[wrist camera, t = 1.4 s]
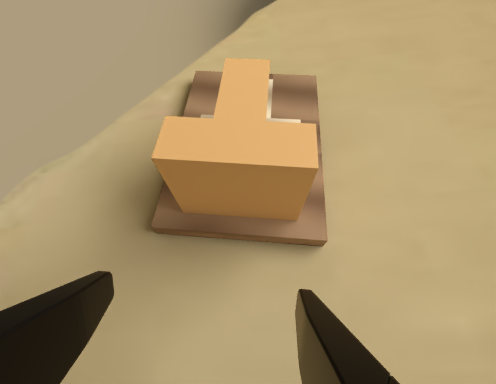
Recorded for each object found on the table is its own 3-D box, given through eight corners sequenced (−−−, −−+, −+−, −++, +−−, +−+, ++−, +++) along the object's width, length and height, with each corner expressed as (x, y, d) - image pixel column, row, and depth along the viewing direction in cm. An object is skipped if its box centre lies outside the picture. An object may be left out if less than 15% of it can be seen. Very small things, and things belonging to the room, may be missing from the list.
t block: (297, 220, 22) (318, 168, 15) (183, 212, 22) (151, 158, 15) (296, 132, 26) (312, 61, 19) (202, 127, 27) (185, 56, 20)
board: (323, 246, 22) (327, 240, 21) (156, 232, 23) (150, 227, 21) (313, 86, 32) (316, 75, 31) (198, 81, 33) (196, 70, 32)
